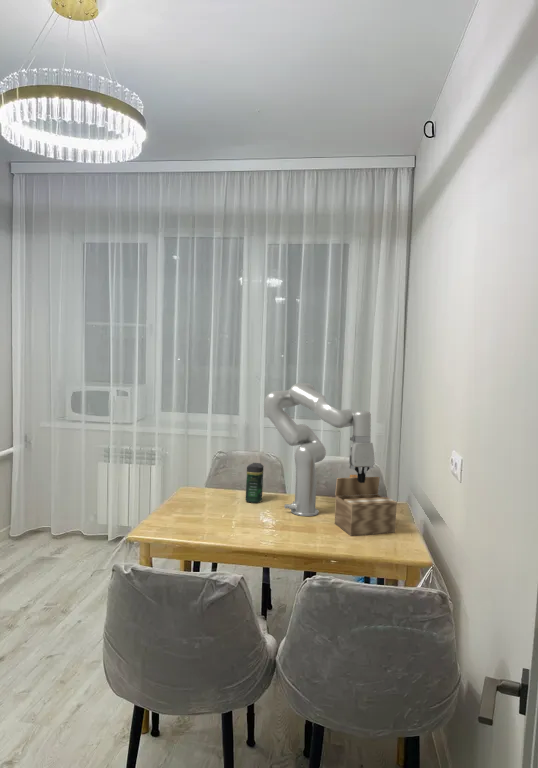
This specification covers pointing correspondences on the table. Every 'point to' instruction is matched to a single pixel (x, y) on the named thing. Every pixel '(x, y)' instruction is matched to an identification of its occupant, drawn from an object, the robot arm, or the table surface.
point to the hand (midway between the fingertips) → (361, 482)
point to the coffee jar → (254, 482)
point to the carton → (365, 514)
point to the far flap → (356, 486)
